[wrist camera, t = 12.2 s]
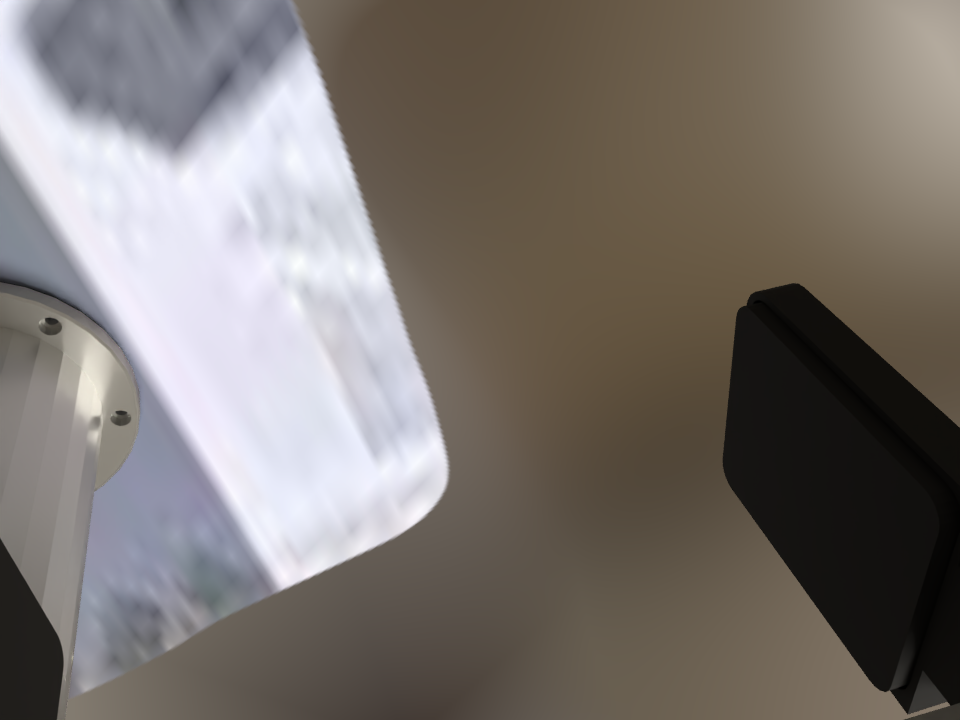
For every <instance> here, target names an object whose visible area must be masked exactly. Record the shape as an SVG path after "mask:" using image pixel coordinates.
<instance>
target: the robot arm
mask: <svg viewBox="0 0 960 720" xmlns="http://www.w3.org/2000/svg"><path fill="white" fill-rule="evenodd" d="M49 317H51V318H55V319H50V318H49ZM139 419H140V393H139V388H138V385H137V381H136V378H135V374H134V371H133V369H132V367H131V365H130V364H129V362H128V360H127V358H126V357H125V355H124V353H123V351H122V350H121V348H120V347H119V346H118V345H117V344H116V343H115V342H114V340H113V339H112V338H111V337H110V336H109V335H108V334H107V333H106V331H105V330H104V329H102V328H101V327H100V326H98V325H97V324H96V323H95V322H93V321H92V320H91V319H90V318H88V317H87V316H86V315H84V314H83V313H82V312H80V311H78V310H76V309H74V308H73V307H71V306H69V305H67V304H65V303H63V302H62V301H60V300H58V299H56V298H54V297H51V296H48V295H45V294H43V293H40V292H37V291H34V290H32V289H29V288H26V287H21V286H17V285H12V284H7V283H2V282H0V720H65V717H66V709H67V702H68V696H69V688H70V680H71V672H72V664H73V656H74V648H75V640H76V632H77V624H78V616H79V608H80V601H81V593H82V585H83V577H84V569H85V561H86V553H87V545H88V537H89V529H90V521H91V513H92V505H93V497H94V492H95V491H96V490H98V489H99V488H101V487H102V486H104V485H105V484H106V483H107V482H108V481H109V480H110V479H111V478H112V477H113V476H114V475H115V474H116V473H117V472H118V471H119V470H120V468H121V467H122V465H123V464H124V462H125V461H126V459H127V458H128V456H129V454H130V453H131V451H132V448H133V445H134V442H135V440H136V437H137V434H138V428H139ZM723 468H724V473H725V476H726V479H727V481H728V483H729V485H730V487H731V488H732V490H733V491H734V492H735V494H736V495H737V497H738V498H739V499H740V501H741V502H742V504H743V505H744V506H745V508H746V509H747V511H748V512H749V513H750V515H751V516H752V518H753V519H754V520H755V522H756V523H757V524H758V526H759V527H760V529H761V530H762V531H763V533H764V534H765V536H766V537H767V538H768V540H769V541H770V543H771V544H772V545H773V547H774V548H775V550H776V551H777V552H778V554H779V555H780V557H781V558H782V559H783V560H784V562H785V563H786V565H787V566H788V568H789V569H790V570H791V572H792V573H793V575H794V576H795V577H796V579H797V580H798V582H799V583H800V584H801V586H802V587H803V588H804V590H805V591H806V593H807V594H808V595H809V597H810V598H811V600H812V601H813V602H814V604H815V605H816V607H817V608H818V609H819V611H820V612H821V613H822V615H823V616H824V618H825V619H826V620H827V622H828V623H829V625H830V626H831V627H832V629H833V630H834V631H835V633H836V634H837V636H838V637H839V638H840V640H841V641H842V643H843V644H844V645H845V647H846V648H847V650H848V651H849V652H850V654H851V655H852V657H853V658H854V659H855V661H856V662H857V663H858V665H859V666H860V668H861V669H862V670H863V672H864V673H865V674H866V676H867V677H868V679H869V680H870V681H871V682H872V684H873V685H874V686H875V687H876V688H878V689H879V690H881V691H884V692H886V691H889V690H890V691H891V692H892V694H893V695H894V696H895V698H896V699H897V701H898V702H899V703H900V705H901V706H902V707H903V709H904V710H905V711H906V713H907V714H911V713H914V712H917V711H920V710H923V709H926V708H929V707H932V706H935V705H938V704H941V703H945V702H948V703H949V704H950V706H948V707H945V708H942V709H938V710H935V711H932V712H928V713H925V714H922V715H918V716H915V717H911V718H908V719H905V720H960V428H959V427H958V426H957V425H956V424H955V423H954V422H953V421H952V420H951V419H949V418H948V417H947V416H946V415H945V414H944V413H943V412H942V411H940V410H939V409H938V408H937V407H936V406H935V405H934V404H933V403H932V402H930V401H929V400H928V399H927V398H926V397H925V396H924V395H923V394H922V393H921V392H920V391H918V390H917V389H916V388H915V387H914V386H913V385H912V384H911V383H910V382H908V381H907V380H906V379H905V378H904V377H903V376H902V375H901V374H900V373H898V372H897V371H896V370H895V369H894V368H893V367H892V366H891V365H890V364H888V363H887V362H886V361H885V360H884V359H883V358H882V357H881V356H880V355H879V354H877V353H876V352H875V351H874V350H873V349H872V348H871V347H870V346H868V345H867V344H866V343H865V342H864V341H863V340H862V339H861V338H860V337H859V336H857V335H856V334H855V333H854V332H853V331H852V330H851V329H850V328H849V327H847V326H846V325H845V324H844V323H843V322H842V321H841V320H840V319H839V318H837V317H836V316H835V315H834V314H833V313H832V312H831V311H830V310H829V309H828V308H826V307H825V306H824V305H823V304H822V303H821V302H820V301H819V300H818V299H816V298H815V297H814V296H813V295H812V294H811V293H810V292H809V291H808V290H806V289H805V288H804V287H803V286H801V285H800V284H795V283H792V284H788V285H784V286H779V287H775V288H771V289H767V290H762V291H758V292H755V293H753V294H751V295H750V297H749V299H748V302H747V306H743V307H741V308H740V309H739V310H738V312H737V317H736V326H735V337H734V347H733V357H732V369H731V379H730V389H729V399H728V410H727V420H726V431H725V441H724V452H723Z"/></svg>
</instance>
